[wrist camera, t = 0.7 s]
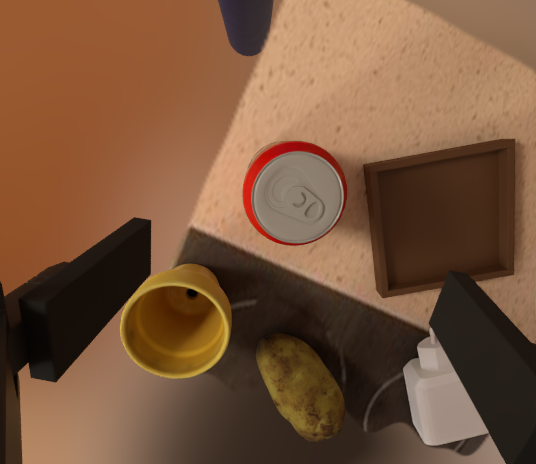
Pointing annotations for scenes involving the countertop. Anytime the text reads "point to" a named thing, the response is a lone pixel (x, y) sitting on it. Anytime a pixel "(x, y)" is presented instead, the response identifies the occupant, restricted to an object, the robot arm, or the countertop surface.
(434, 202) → the rectangular tray
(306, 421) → the potato
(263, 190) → the soda can
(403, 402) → the countertop surface
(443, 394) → the charger
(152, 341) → the flower pot
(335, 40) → the countertop surface
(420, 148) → the countertop surface
